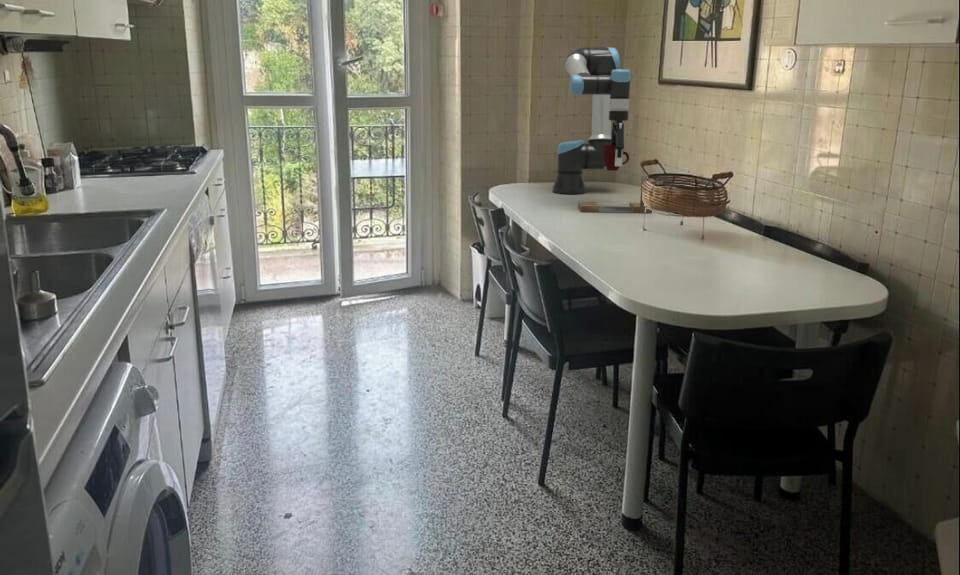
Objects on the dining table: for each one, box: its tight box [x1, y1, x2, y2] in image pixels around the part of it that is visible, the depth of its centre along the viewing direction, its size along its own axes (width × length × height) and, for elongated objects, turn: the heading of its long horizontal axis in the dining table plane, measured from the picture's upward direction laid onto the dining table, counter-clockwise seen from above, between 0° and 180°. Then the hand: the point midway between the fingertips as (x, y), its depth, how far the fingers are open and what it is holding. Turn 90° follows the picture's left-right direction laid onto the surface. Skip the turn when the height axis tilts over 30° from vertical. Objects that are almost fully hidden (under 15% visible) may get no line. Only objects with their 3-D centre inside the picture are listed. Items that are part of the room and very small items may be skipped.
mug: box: [603, 145, 630, 172], centre depth 292 cm, size 10×8×10 cm
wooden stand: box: [577, 175, 653, 214], centre depth 290 cm, size 13×28×14 cm, turn 88°
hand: (615, 164), depth 290 cm, fingers open, 13 cm apart
